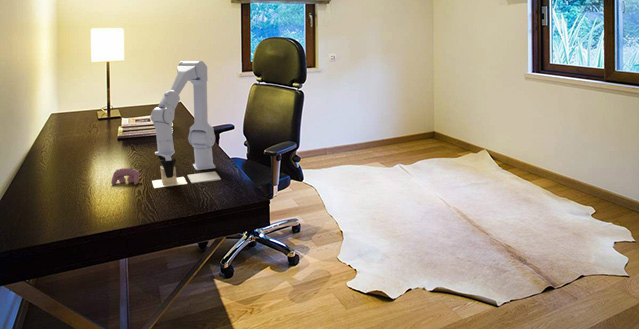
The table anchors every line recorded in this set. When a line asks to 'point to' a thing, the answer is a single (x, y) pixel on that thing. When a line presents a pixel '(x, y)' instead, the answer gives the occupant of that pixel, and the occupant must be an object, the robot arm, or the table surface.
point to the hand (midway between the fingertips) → (168, 174)
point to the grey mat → (203, 177)
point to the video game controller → (123, 172)
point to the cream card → (159, 184)
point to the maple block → (168, 180)
